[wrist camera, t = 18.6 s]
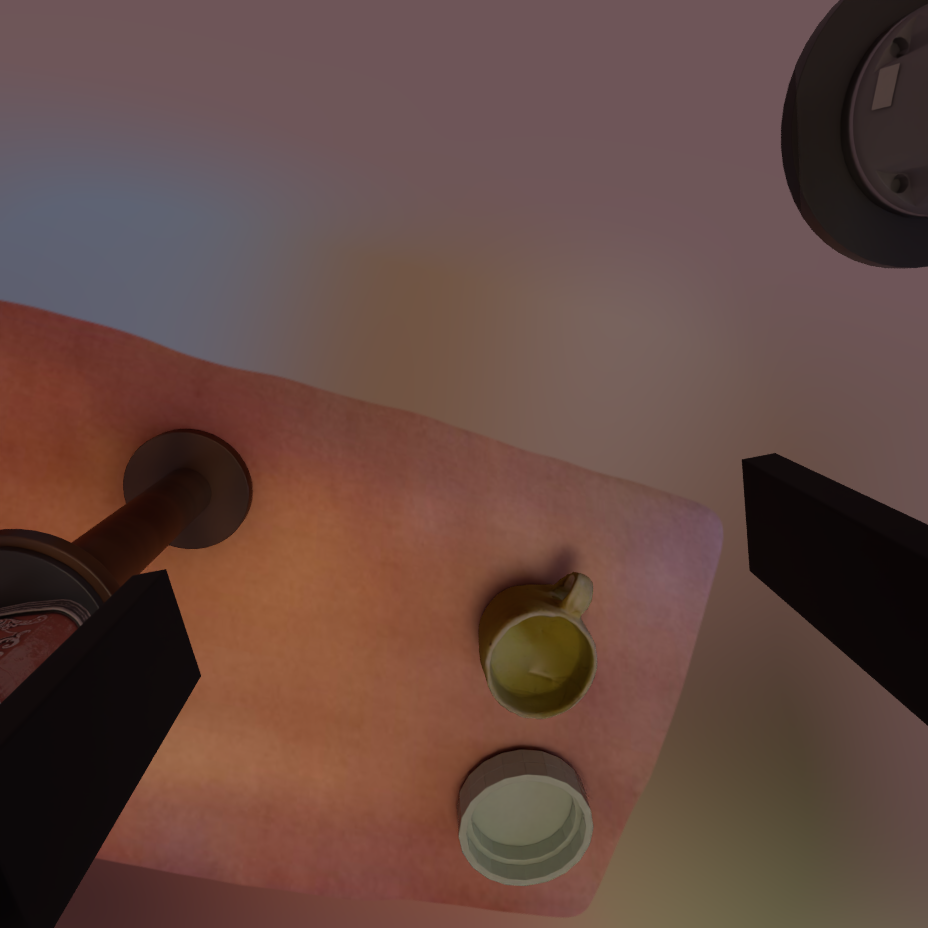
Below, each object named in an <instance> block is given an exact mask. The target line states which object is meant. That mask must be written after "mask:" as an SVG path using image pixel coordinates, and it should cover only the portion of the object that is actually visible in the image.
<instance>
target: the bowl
mask: <svg viewBox="0 0 928 928" xmlns="http://www.w3.org/2000/svg"><path fill="white" fill-rule="evenodd" d="M457 815H458V833H459V840H460V844H461V849H462V852H463V854H464V856H465V857H466V858H467V860H468V861H469V863H470V864H471V866H472V867H473V868H474V869H475V870H477V871H478V872H480V873H481V874H482V875H484V876H485V877H486V878H488V879H491V880H493V881H496V882H499V883H502V884H505V885H518V886H526V885H527V886H528V885H533V884H538V883H544V882H548V881H550V880H552V879H554V878H556V877H558V876H560V875H563V874H565V873H566V872H567V871H568V870H569V869H570V868H572V867H573V866H574V865H575V864H576V863H577V862H579V861H580V859H581V858H582V856H583V854H584V853H585V851H586V850H587V848H588V847H589V844H590V841H591V836H592V832H593V821H592V814H591V809H590V806H589V803H588V800H587V796H586V793H585V790H584V787H583V784H582V782H581V781H580V779H579V777H578V776H577V774H576V772H575V770H574V769H573V768H571V767H570V766H569V765H568V764H566V763H565V762H564V761H563V760H562V759H560V758H558V757H556V756H553V755H551V754H548V753H545V752H543V751H536V750H524V749H522V750H516V751H511V752H505V753H501V754H499V755H497V756H494V757H492V758H490V759H488V760H486V761H484V762H483V763H482V764H481V765H480V766H478V767H477V768H476V769H475V770H474V771H473V772H472V773H471V774H470V775H469V776H468V778H467V779H466V781H465V783H464V785H463V787H462V788H461V790H460V793H459V799H458V805H457Z"/></svg>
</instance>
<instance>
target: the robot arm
mask: <svg viewBox="0 0 928 928" xmlns="http://www.w3.org/2000/svg"><path fill="white" fill-rule="evenodd" d="M841 144H842V150H843V155H844V158H845V162H846V165H847V167H848V170H849V172H850V174H851V176H852V178H853V180H854V182H855V183H856V185H857V186H858V188H859V189H860V190H861V191H862V193H863V194H864V195H865V196H866V197H867V198H868V199H869V200H870V201H872V202H873V203H874V204H876V205H877V206H879V207H880V208H882V209H884V210H886V211H888V212H890V213H893V214H896V215H899V216H904V217H910V218H928V4H927V5H925V6H922V7H921V8H919V9H917V10H915V11H914V12H912V13H910V14H908V15H907V16H905V17H903V18H902V19H900V20H898V21H897V22H896V23H894V24H893V25H892V26H890V27H889V28H888V29H887V30H886V31H885V32H883V33H882V34H881V35H880V36H879V37H878V38H877V40H876V41H875V42H874V43H873V44H872V45H871V47H870V48H869V49H868V50H867V52H866V53H865V55H864V56H863V58H862V59H861V61H860V62H859V64H858V66H857V68H856V70H855V72H854V74H853V76H852V78H851V80H850V83H849V86H848V89H847V92H846V95H845V99H844V103H843V108H842V115H841ZM742 469H743V482H744V497H745V511H746V525H747V539H748V553H749V568H750V571H751V572H752V573H753V574H754V575H755V576H756V577H758V578H759V579H760V580H761V581H762V582H763V583H765V584H766V585H767V586H768V587H769V588H770V589H771V590H773V591H774V592H775V593H776V594H777V595H778V596H779V597H780V598H782V599H783V600H784V601H785V602H787V604H789V605H790V606H791V607H792V608H793V609H794V610H796V611H797V612H798V613H799V614H800V615H801V616H802V617H804V618H805V619H806V620H807V621H808V622H809V623H811V624H812V625H813V626H814V627H815V628H816V629H817V630H818V631H820V632H821V633H822V634H823V635H824V636H825V637H826V638H828V639H829V640H830V641H831V642H832V643H833V644H834V645H836V646H837V647H838V648H839V649H840V650H841V651H843V652H844V653H845V654H846V655H847V656H848V657H849V658H851V659H852V660H853V661H854V662H855V663H857V665H859V666H860V667H861V668H862V669H863V670H864V671H866V672H867V673H868V674H869V675H870V676H871V677H872V678H874V679H875V680H876V681H877V682H878V683H879V684H880V685H882V686H883V687H884V688H885V689H886V690H887V691H888V692H890V693H891V694H892V695H893V696H894V697H895V698H897V699H898V700H899V701H900V702H901V703H902V704H903V705H905V706H906V707H907V708H908V709H909V710H910V711H911V712H913V713H914V714H915V715H916V716H917V717H918V718H920V719H921V720H922V721H923V722H924V723H925V724H926V725H928V525H927V524H925V523H923V522H921V521H918V520H916V519H914V518H912V517H910V516H908V515H906V514H904V513H902V512H900V511H897V510H895V509H893V508H891V507H889V506H887V505H885V504H882V503H880V502H878V501H876V500H874V499H872V498H870V497H868V496H865V495H863V494H861V493H859V492H857V491H855V490H853V489H850V488H848V487H846V486H844V485H842V484H840V483H838V482H836V481H833V480H831V479H829V478H827V477H825V476H823V475H821V474H819V473H816V472H814V471H812V470H810V469H808V468H806V467H804V466H802V465H799V464H797V463H795V462H793V461H791V460H789V459H787V458H784V457H782V456H780V455H778V454H776V453H773V454H768V455H763V456H758V457H753V458H747V459H742ZM200 677H201V674H200V671H199V668H198V665H197V662H196V659H195V656H194V653H193V650H192V647H191V644H190V641H189V638H188V635H187V632H186V628H185V625H184V622H183V619H182V616H181V613H180V610H179V607H178V604H177V601H176V598H175V595H174V592H173V589H172V586H171V583H170V580H169V577H168V574H167V571H166V569H165V570H159V571H154V572H149V573H144V574H138V575H133V576H131V577H130V578H129V579H128V580H127V581H126V582H125V583H124V584H123V585H122V586H121V587H120V588H119V589H118V590H117V591H116V592H115V593H114V594H113V595H112V596H111V597H110V598H109V599H108V600H107V601H106V602H105V603H104V604H103V605H102V606H100V607H99V608H98V609H97V610H96V611H95V612H94V613H93V614H92V615H91V616H90V617H89V618H88V619H87V620H86V621H85V622H84V623H83V624H82V625H81V626H80V627H79V628H78V629H77V630H76V631H75V632H74V633H73V634H72V635H71V636H70V637H69V638H68V639H67V640H65V641H64V642H63V643H62V644H61V645H60V646H59V647H58V648H57V649H56V650H55V651H54V652H53V653H52V654H51V655H50V656H49V657H48V658H47V659H46V660H45V661H44V662H43V663H42V664H41V665H40V666H39V667H38V668H37V669H36V670H35V671H34V672H33V673H31V674H30V675H29V676H28V677H27V678H26V679H25V680H24V681H23V682H22V683H21V684H20V685H19V686H18V687H17V688H16V689H15V690H14V691H13V692H12V693H11V694H10V695H9V696H8V697H7V698H6V699H5V700H4V701H3V702H2V703H1V704H0V928H54V927H55V925H56V923H57V921H58V920H59V918H60V916H61V914H62V913H63V911H64V909H65V907H66V906H67V904H68V903H69V901H70V899H71V897H72V896H73V894H74V892H75V890H76V889H77V887H78V885H79V884H80V882H81V880H82V879H83V877H84V875H85V873H86V872H87V870H88V868H89V867H90V865H91V863H92V862H93V860H94V858H95V856H96V855H97V853H98V851H99V850H100V848H101V846H102V844H103V843H104V841H105V839H106V838H107V836H108V834H109V832H110V831H111V829H112V827H113V826H114V824H115V822H116V820H117V819H118V817H119V815H120V814H121V812H122V810H123V809H124V807H125V805H126V803H127V802H128V800H129V798H130V797H131V795H132V793H133V791H134V790H135V788H136V786H137V785H138V783H139V781H140V779H141V778H142V776H143V774H144V773H145V771H146V769H147V767H148V766H149V764H150V762H151V761H152V759H153V757H154V755H155V754H156V752H157V750H158V749H159V747H160V745H161V744H162V742H163V740H164V738H165V737H166V735H167V733H168V732H169V730H170V728H171V726H172V725H173V723H174V721H175V720H176V718H177V716H178V714H179V713H180V711H181V709H182V708H183V706H184V704H185V702H186V701H187V699H188V697H189V696H190V694H191V692H192V690H193V689H194V687H195V685H196V684H197V682H198V680H199V679H200Z"/></svg>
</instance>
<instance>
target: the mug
mask: <svg viewBox="0 0 928 928" xmlns="http://www.w3.org/2000/svg"><path fill="white" fill-rule="evenodd" d="M592 594H593V583H592V581H591V580H590V579H589V578H588V577H587V576H586V575H584V574H581V573H577V572H573V573H571V574H568V575H566V576H565V577H563V578H562V579H560V580H559V581H558V582H557V583H556V584H555V585H550V584H545V585H533V584H529V585H519V586H514V587H510V588H508V589H506V590H504V591H502V592H501V593H499V594H498V595H497V596H495V597H494V599H493V600H492V601H491V602H490V603H489V605H488V606H487V607H486V609H485V611H484V613H483V615H482V617H481V619H480V623H479V654H480V662H481V665H482V668H483V671H484V674H485V677H486V680H487V684H488V687H489V689H490V691H491V693H492V695H493V696H494V698H495V699H496V700H497V701H498V703H499V704H500V705H501V706H503V707H505V708H506V709H507V710H509V711H510V712H513V713H515V714H517V715H518V716H520V717H524V718H535V719H546V718H550V717H553V716H556V715H559V714H561V713H563V712H565V711H567V710H569V709H570V708H571V707H573V706H574V705H575V704H577V703H578V702H579V701H580V700H581V698H582V697H583V696H584V695H585V694H586V693H587V691H588V689H589V687H590V686H591V684H592V681H593V679H594V677H595V673H596V669H597V652H596V646H595V643H594V641H593V638H592V637H591V635H590V633H589V631H588V630H587V628H586V627H585V625H584V623H583V622H582V620H581V615H582V614H583V613H584V611H585V610H587V608H588V607H589V605H590V603H591V601H592Z"/></svg>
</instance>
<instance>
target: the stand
mask: <svg viewBox="0 0 928 928" xmlns="http://www.w3.org/2000/svg"><path fill="white" fill-rule="evenodd" d="M123 490H124V497H125V500H126V504H125V505H124V506H122V507H121V508H120V509H118V510H117V511H115V512H114V513H113V514H111V515H110V516H108V517H107V518H106V519H104V520H103V521H101V522H100V523H99V524H97V525H96V526H94V527H93V528H92V529H90V530H89V531H87V532H86V533H85V534H83V535H82V536H80V537H79V538H78V539H76V540H75V541H73V542H72V543H71V542H68V541H66V540H64V539H62V538H59V537H56V536H53V535H50V534H47V533H42V532H38V531H32V530H24V529H3V530H0V608H3V607H8V606H13V605H18V604H23V603H28V602H38V601H49V600H60V599H64V600H72V601H74V602H76V603H79V604H80V605H82V606H83V607H84V608H85V609H86V610H87V611H88V612H89V614H90V615H92V614H93V613H94V612H95V611H96V610H97V609H98V608H99V607H100V606H102V605H103V604H104V603H105V602H106V601H107V600H108V599H109V598H110V597H111V596H112V595H113V594H114V593H115V592H116V591H117V590H118V589H119V588H120V587H121V586H122V585H123V584H124V583H125V582H126V581H127V580H128V579H129V578H130V577H131V576H133V575H138V574H140V573H141V572H142V571H143V570H144V569H145V568H146V567H147V566H148V565H149V564H150V563H151V562H152V561H153V560H154V559H155V558H156V557H157V556H158V555H159V554H160V553H161V552H162V551H163V550H164V549H165V548H166V547H167V546H168V545H170V546H174V547H178V548H185V549H199V548H205V547H209V546H213V545H215V544H218V543H220V542H222V541H223V540H225V539H226V538H228V537H229V536H230V535H232V534H233V533H234V532H235V531H236V530H237V528H238V527H239V526H240V525H241V523H242V522H243V521H244V519H245V517H246V516H247V514H248V512H249V509H250V506H251V501H252V492H253V491H252V482H251V477H250V474H249V471H248V469H247V467H246V465H245V463H244V461H243V460H242V458H241V457H240V455H239V454H238V453H237V452H236V451H235V450H234V449H233V448H232V447H231V446H230V445H229V444H228V443H226V442H225V441H223V440H222V439H220V438H218V437H216V436H214V435H212V434H209V433H207V432H203V431H199V430H193V429H178V430H172V431H168V432H165V433H162V434H160V435H158V436H156V437H154V438H152V439H150V440H149V441H147V442H145V443H144V444H143V445H142V446H140V447H139V448H138V450H137V451H136V452H135V453H134V454H133V456H132V457H131V459H130V461H129V463H128V465H127V467H126V470H125V474H124V480H123Z"/></svg>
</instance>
